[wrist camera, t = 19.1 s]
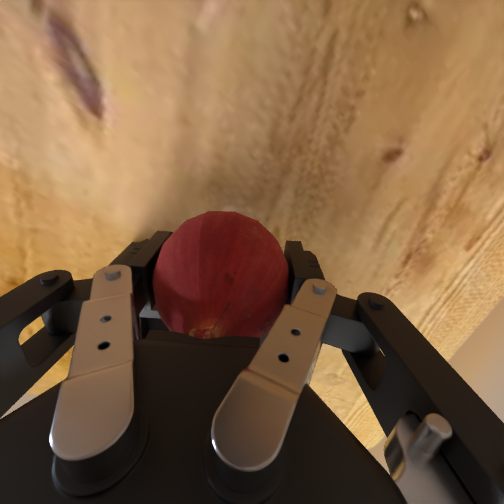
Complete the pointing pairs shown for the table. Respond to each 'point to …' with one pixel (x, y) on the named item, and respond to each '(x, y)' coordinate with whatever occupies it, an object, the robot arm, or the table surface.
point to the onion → (221, 277)
